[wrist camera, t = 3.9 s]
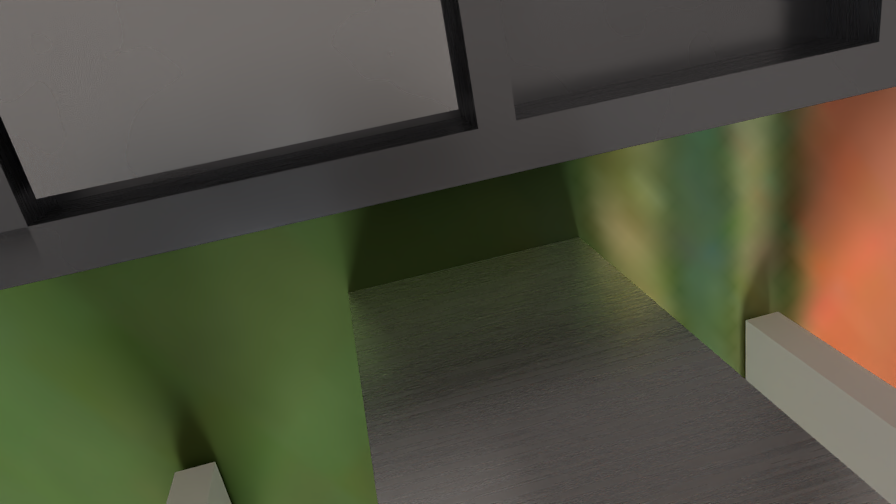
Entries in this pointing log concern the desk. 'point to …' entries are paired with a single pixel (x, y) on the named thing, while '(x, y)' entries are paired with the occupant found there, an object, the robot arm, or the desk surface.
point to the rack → (367, 103)
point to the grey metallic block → (567, 395)
